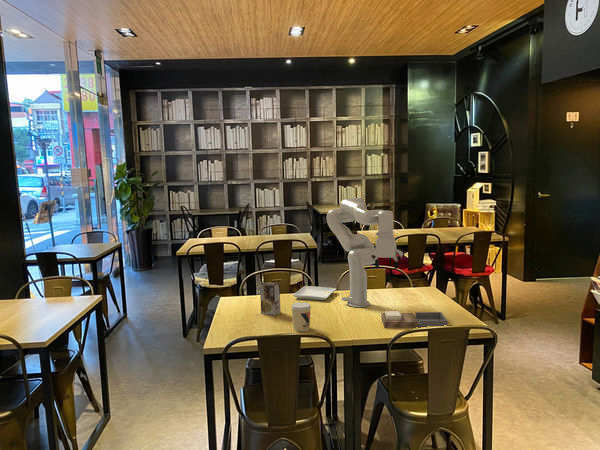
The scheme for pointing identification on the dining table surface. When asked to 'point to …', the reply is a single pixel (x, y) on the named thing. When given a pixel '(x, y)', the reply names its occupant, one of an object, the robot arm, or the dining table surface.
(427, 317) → the tray
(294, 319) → the coffee cup
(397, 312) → the tile
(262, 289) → the coffee box
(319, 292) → the salad plate
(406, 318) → the flat wooden board
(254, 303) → the dining table surface
